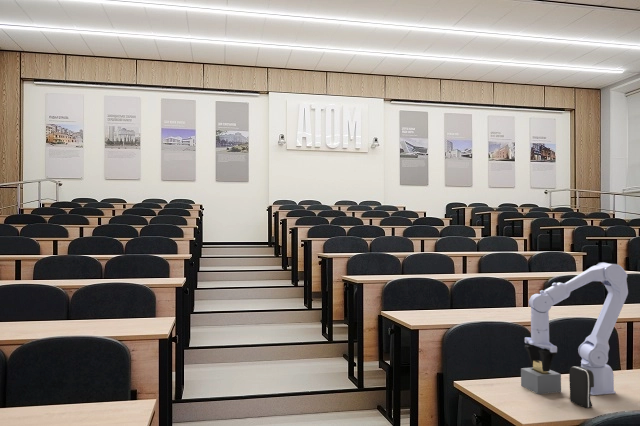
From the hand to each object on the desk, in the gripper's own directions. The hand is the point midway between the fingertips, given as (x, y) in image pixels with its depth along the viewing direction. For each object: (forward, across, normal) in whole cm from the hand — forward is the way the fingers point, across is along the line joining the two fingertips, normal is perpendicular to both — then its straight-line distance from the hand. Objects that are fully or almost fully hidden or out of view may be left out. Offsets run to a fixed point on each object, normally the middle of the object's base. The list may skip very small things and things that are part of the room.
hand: (540, 368), depth 168 cm
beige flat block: (+3, 0, 0) cm, 3 cm away
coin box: (+7, 0, 0) cm, 7 cm away
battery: (+7, +16, +3) cm, 18 cm away
